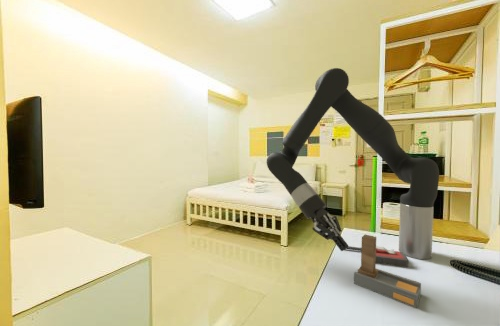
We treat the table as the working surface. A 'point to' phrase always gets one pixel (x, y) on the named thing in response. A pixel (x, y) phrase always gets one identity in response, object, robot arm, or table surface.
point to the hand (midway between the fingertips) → (345, 248)
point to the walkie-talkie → (388, 256)
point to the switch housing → (391, 286)
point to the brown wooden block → (368, 257)
